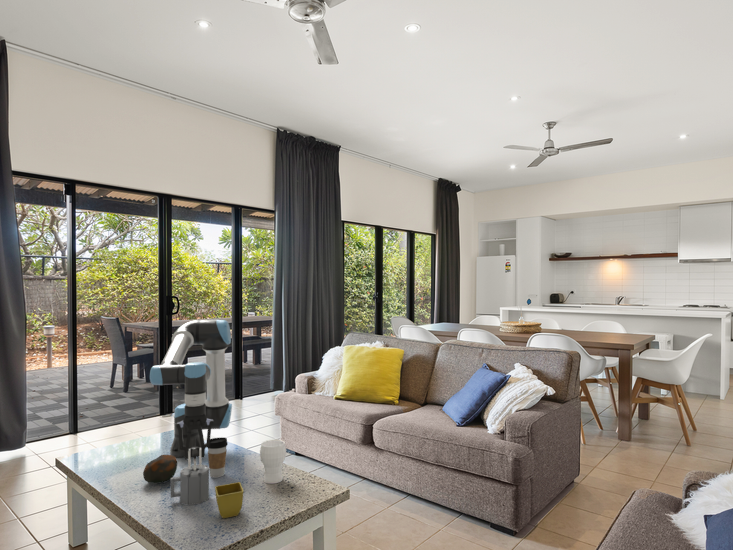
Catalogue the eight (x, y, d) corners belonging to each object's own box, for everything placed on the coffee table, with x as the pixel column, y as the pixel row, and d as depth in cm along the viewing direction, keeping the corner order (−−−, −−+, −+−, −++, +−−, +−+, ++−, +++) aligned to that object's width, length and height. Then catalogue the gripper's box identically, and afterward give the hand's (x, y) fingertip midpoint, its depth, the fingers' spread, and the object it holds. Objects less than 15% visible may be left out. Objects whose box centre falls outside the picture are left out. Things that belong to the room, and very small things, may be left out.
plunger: (186, 490, 177) (186, 446, 177) (204, 488, 179) (204, 444, 179) (185, 497, 171) (185, 451, 171) (203, 495, 173) (203, 449, 173)
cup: (254, 480, 191) (254, 443, 192) (276, 472, 199) (275, 437, 199) (270, 487, 184) (270, 449, 184) (291, 479, 192) (291, 442, 192)
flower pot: (217, 523, 156) (217, 495, 157) (214, 511, 164) (214, 485, 165) (243, 517, 160) (243, 491, 160) (240, 506, 168) (240, 481, 168)
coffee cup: (221, 479, 192) (221, 443, 193) (202, 478, 194) (202, 441, 194) (231, 471, 200) (231, 436, 201) (213, 470, 202) (213, 435, 203)
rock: (150, 491, 182) (150, 465, 182) (138, 483, 189) (138, 458, 189) (183, 480, 192) (183, 455, 192) (170, 473, 199) (170, 449, 199)
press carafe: (171, 496, 177) (172, 467, 177) (209, 491, 181) (209, 463, 181) (169, 508, 167) (169, 477, 168) (208, 502, 171) (208, 472, 172)
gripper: (171, 408, 170) (170, 473, 169) (217, 404, 175) (217, 467, 174) (173, 403, 177) (172, 465, 176) (217, 400, 182) (217, 460, 181)
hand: (194, 466), depth 175 cm, fingers closed on plunger, 3 cm apart
